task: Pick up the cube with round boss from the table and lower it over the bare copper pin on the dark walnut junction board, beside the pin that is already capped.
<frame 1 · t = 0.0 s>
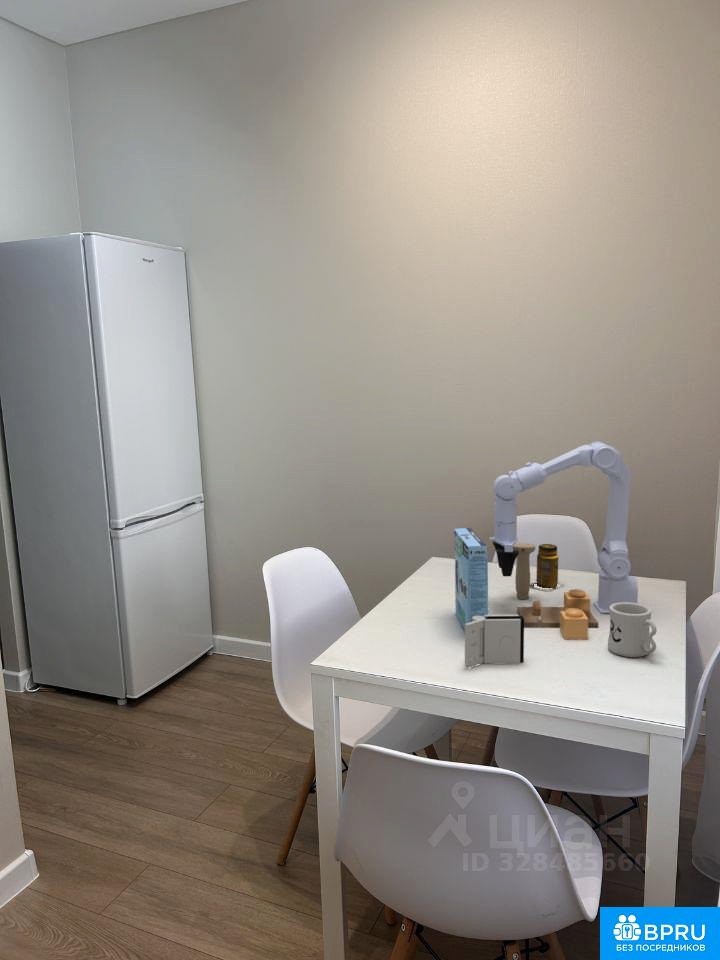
hand: (505, 571, 196), 10 cm above the table, tool pointing down, fingers open, 7 cm apart
handle: (522, 598, 206), on the table
junction board: (556, 619, 189), on the table
condiment: (544, 587, 217), on the table
mug: (634, 654, 167), on the table
hinge: (492, 664, 163), on the table
gum box: (470, 626, 186), on the table
cube with round boss: (573, 634, 178), on the table
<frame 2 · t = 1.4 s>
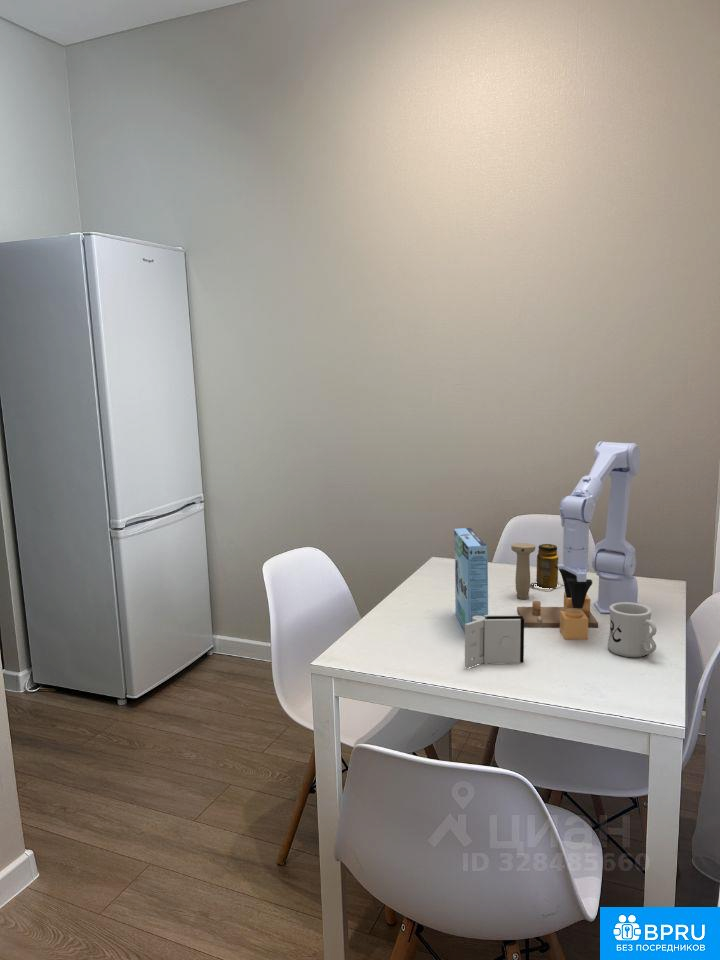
hand: (574, 602, 177), 8 cm above the table, tool pointing down, fingers open, 7 cm apart
nothing on the table moved.
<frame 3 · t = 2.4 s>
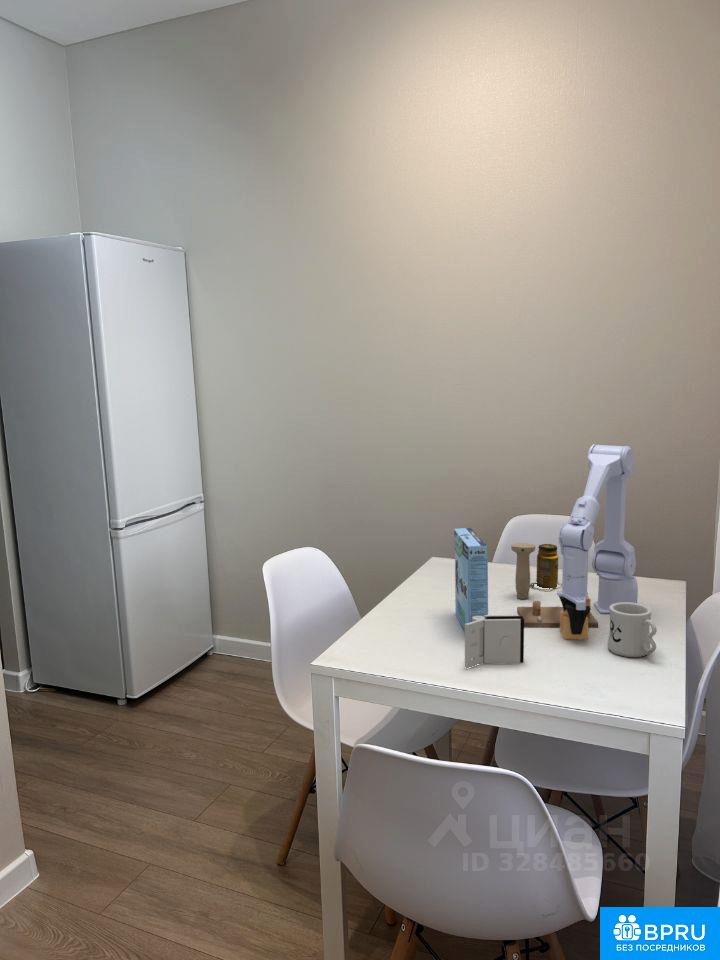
hand: (573, 629, 178), 1 cm above the table, tool pointing down, fingers closed on cube with round boss, 5 cm apart
cube with round boss: (573, 634, 178), on the table, touching gripper
everything else where it was.
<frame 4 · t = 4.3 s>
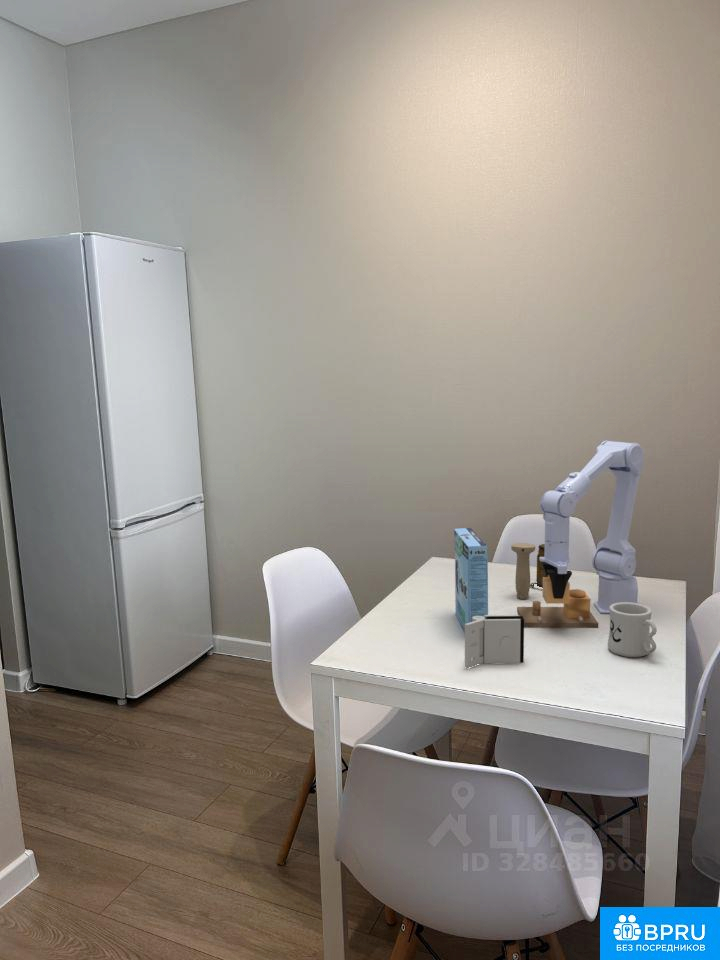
hand: (555, 594, 182), 8 cm above the table, tool pointing down, fingers closed on cube with round boss, 5 cm apart
cube with round boss: (555, 599, 182), point 7 cm above the table, touching gripper
everything else where it was.
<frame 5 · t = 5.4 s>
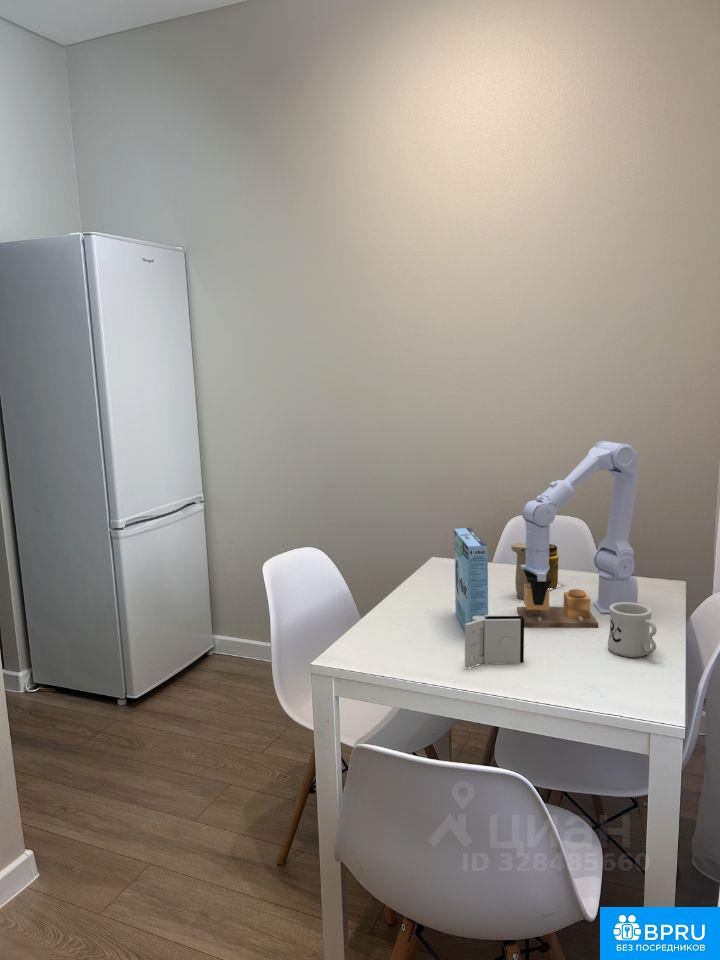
hand: (536, 600, 189), 5 cm above the table, tool pointing down, fingers closed on cube with round boss, 5 cm apart
cube with round boss: (536, 606, 189), point 3 cm above the table, touching gripper
everything else where it was.
when the fingers open (4 cm above the table, at t = 6.1 s): cube with round boss drops 1 cm, resting on junction board.
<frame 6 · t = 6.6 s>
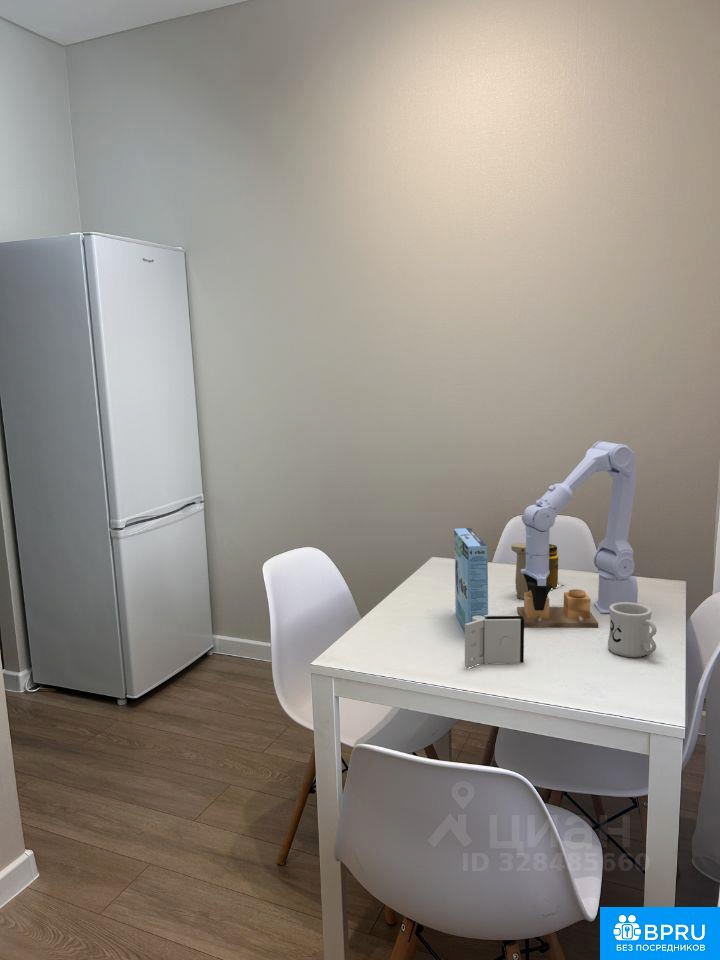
hand: (536, 605, 189), 4 cm above the table, tool pointing down, fingers open, 7 cm apart
cube with round boss: (536, 614, 189), point 1 cm above the table, touching junction board
everything else where it was.
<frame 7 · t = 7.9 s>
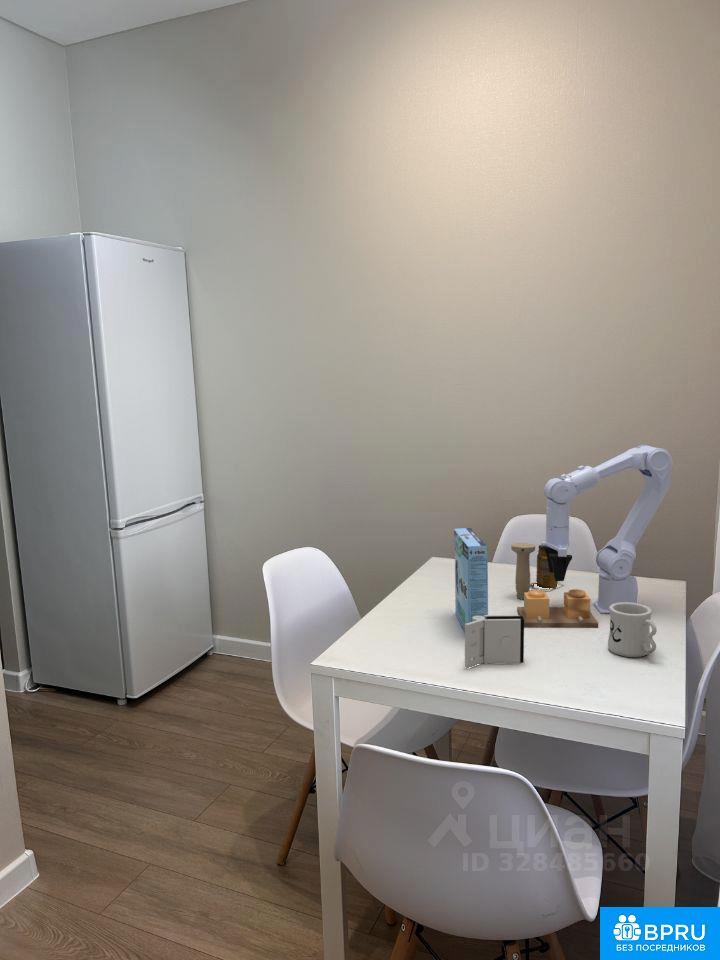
hand: (556, 576, 193), 9 cm above the table, tool pointing down, fingers open, 7 cm apart
nothing on the table moved.
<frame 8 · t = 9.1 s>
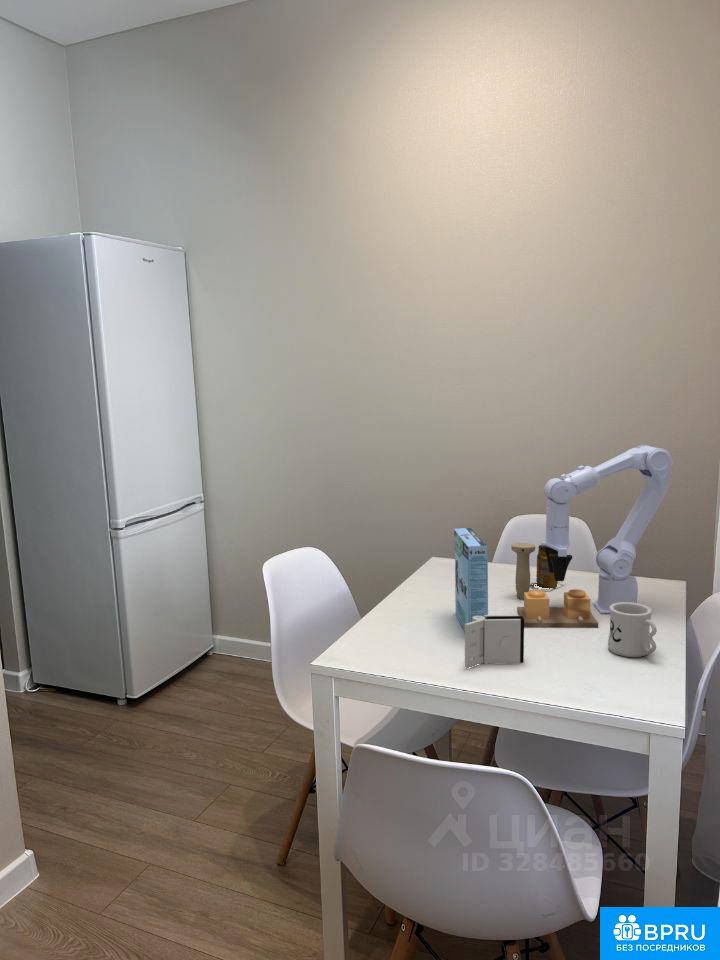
hand: (556, 576, 193), 9 cm above the table, tool pointing down, fingers open, 7 cm apart
nothing on the table moved.
at the end: cube with round boss 0.0 cm from the target spot on the junction board, point 1.2 cm above the junction board's base; cube with round boss tilted 0°; the gripper is holding nothing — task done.
